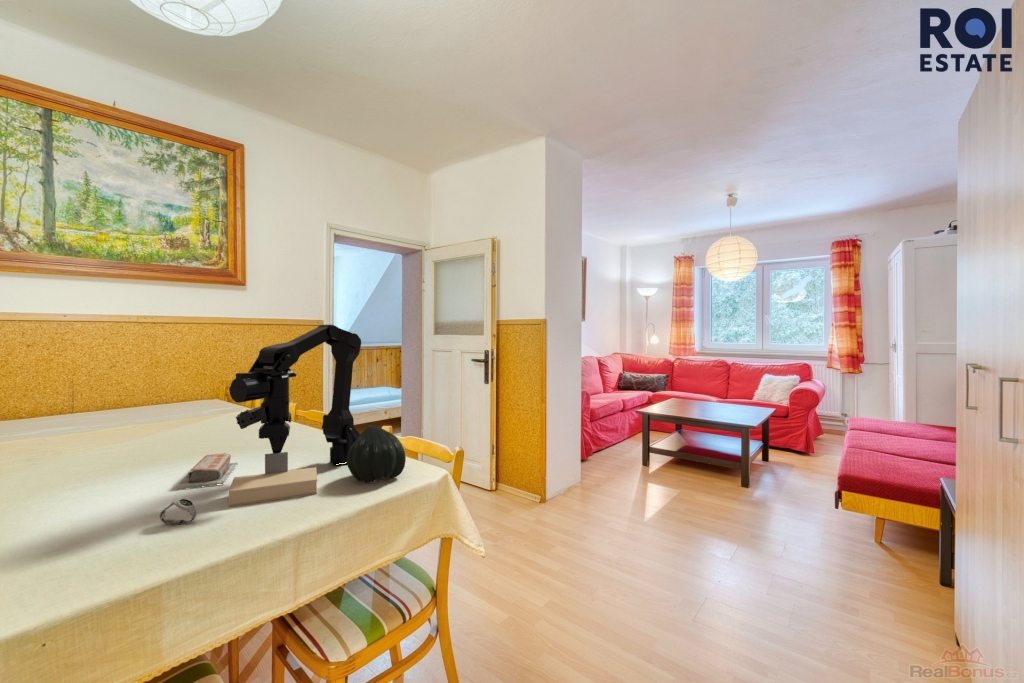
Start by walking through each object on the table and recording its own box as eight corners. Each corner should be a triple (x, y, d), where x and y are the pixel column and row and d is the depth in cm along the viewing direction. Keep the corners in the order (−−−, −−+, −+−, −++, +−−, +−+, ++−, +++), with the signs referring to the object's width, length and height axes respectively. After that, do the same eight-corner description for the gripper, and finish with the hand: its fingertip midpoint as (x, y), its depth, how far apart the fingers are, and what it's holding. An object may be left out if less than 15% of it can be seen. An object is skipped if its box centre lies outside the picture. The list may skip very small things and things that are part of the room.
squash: (409, 465, 108) (402, 415, 117) (347, 474, 103) (345, 421, 112) (405, 487, 118) (399, 440, 127) (348, 497, 113) (346, 446, 122)
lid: (316, 469, 111) (316, 448, 110) (317, 481, 103) (317, 459, 103) (234, 479, 102) (233, 457, 102) (228, 493, 95) (228, 469, 95)
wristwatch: (190, 526, 86) (190, 501, 86) (156, 528, 84) (155, 503, 84) (200, 518, 89) (199, 495, 89) (166, 521, 88) (166, 497, 88)
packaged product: (197, 454, 121) (237, 450, 125) (197, 470, 122) (237, 466, 125) (176, 472, 105) (223, 468, 109) (176, 492, 105) (223, 486, 109)
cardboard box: (315, 483, 110) (315, 472, 110) (316, 493, 103) (316, 481, 103) (234, 494, 102) (234, 482, 102) (229, 506, 95) (229, 493, 95)
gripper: (243, 392, 111) (244, 450, 112) (232, 404, 94) (233, 473, 95) (291, 390, 116) (291, 446, 117) (288, 401, 99) (288, 466, 100)
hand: (276, 457), depth 107 cm, fingers closed
